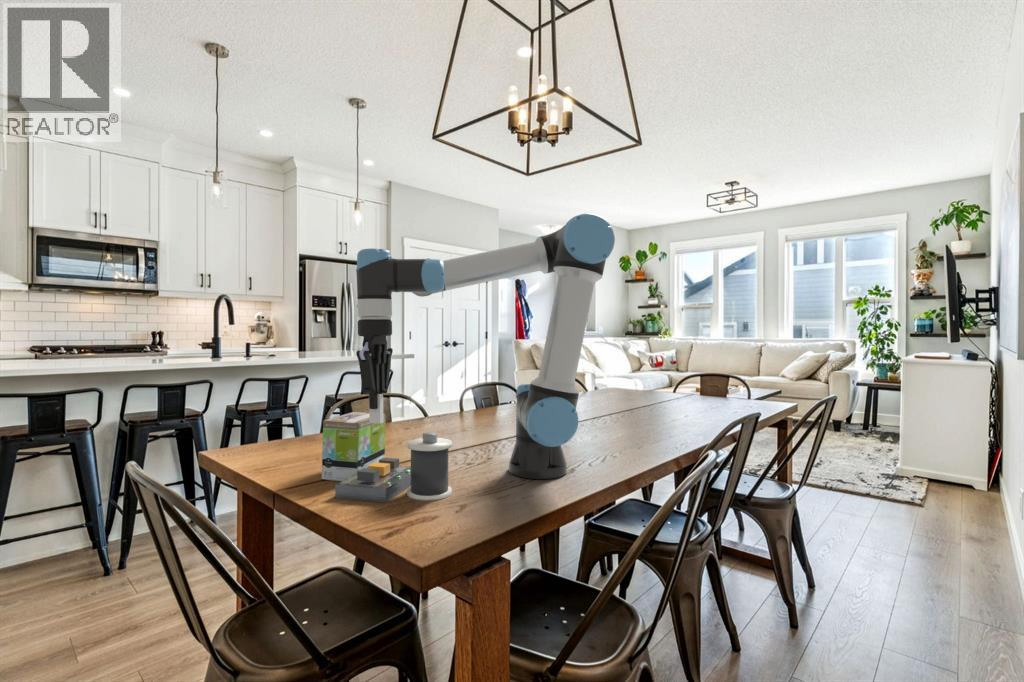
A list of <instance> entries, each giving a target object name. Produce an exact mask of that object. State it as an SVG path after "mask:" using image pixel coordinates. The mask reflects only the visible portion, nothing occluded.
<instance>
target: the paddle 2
mask: <svg viewBox="0 0 1024 682" xmlns="http://www.w3.org/2000/svg"><path fill="white" fill-rule="evenodd" d="M379 463H389V464H390V469H392V470H395V469H396V468H398V467H400V458H394V457H385V458H382V459H380V460H379Z"/></svg>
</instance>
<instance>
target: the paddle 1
mask: <svg viewBox="0 0 1024 682" xmlns="http://www.w3.org/2000/svg"><path fill="white" fill-rule="evenodd" d="M378 479H379V470H378V469H365V468H363V469H361V470H359V471H357V480H358V481H369V482H374V481H376V480H378Z"/></svg>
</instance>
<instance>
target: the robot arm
mask: <svg viewBox="0 0 1024 682" xmlns="http://www.w3.org/2000/svg"><path fill="white" fill-rule="evenodd" d="M614 232H615V231H614V229H613V227H612V226H611V225H610V223H609V221H608V220H606V219H605V218H604V217H603V216H601V215H599V214H596V213H589V212H587V213H581V214H577V215H574V216H573V217H571V218H570V219H569V220H568V221H567V222H566V223H565V225H564V226H562V227H561V228H560V229H558V230H556V231H553V232H552V233H549V234H545V235H541V236H537V238H536V239H535V240H534V241H532V242H528V243H522V244H519V245H518V244H517V245H514V246H513V245H512V246H508V247H503V248H500V249H499V248H498V249H495V250H487V251H484V252H479V253H474V254H471V255H465V256H459V257H454V258H451V259H445V260H442V259H437V258H436V259H435V258H434V259H433V258H403V259H401V258H395V257H394V258H393V257H392V254H391V251H390V250H388V249H386V248H364V249H360V250H358V252H357V254H356V257H357V258H356V268H355V272H356V273H355V274H356V294H357V297H356V299H357V304H356V308H357V316H358V317H357V318H360V319H358V321H357V335H358V336H359V337H363V339H362V340H363V341H362V348H361V350H356V352H355V353H356V354H355V355H356V358H357V360H358V364H359V370H360V371H359V372H360V373H359V374H360V379H361V385H362V386H361V388H362V392H363V394H364V395H367V396H368V404H369V405H368V407H369V408H368V409H369V410H368V413H369V423H379V424H381V423H383V422H384V421H383V414H384V394H388V389H389V383H390V382H389V381H390V371H391V370H390V369H391V359H392V355H393V351H394V350H393V348H392V347H388V340H387V337H390V336H392V335H393V321H392V320H391V319H390V318H392V317H393V302H392V301H393V299H392V293H412V294H413V295H416V296H418V297H422V298H423V297H428V296H431V295H433V294H438V293H442V292H446V291H451V290H455V289H460V288H464V287H465V288H466V287H468V286H469V287H471V286H474V285H478V284H479V285H480V284H483V283H489V282H494V281H498V280H503V279H507V278H512V277H517V276H521V275H527V274H531V273H535V272H542V274H544V275H547V274H549V273H550V274H551V273H555V274H556V275H557V277H558V278H557V281H556V282H557V283H556V288H555V292H554V298H553V303H552V308H551V311H550V317H549V322H548V325H547V326H548V328H547V330H546V331H547V332H546V338H545V342H544V345H543V347H544V348H543V351H542V356H541V362H540V367H539V372H538V376H537V377H535V378H534V379H533V380H531V381H530V384H529V383H526V384H524V383H522V384H519V385H517V387H516V394H515V399H516V405H515V406H516V408H515V409H516V413H515V415H516V418H515V419H516V420H515V423H516V424H515V443H514V447H513V448H512V449H513V450H512V453H511V455H510V458H509V462H508V472H509V473H510V474H511V475H513V476H514V477H515V476H516V477H519V478H524V479H531V480H550V479H556V478H560V477H563V476H565V475H566V474H567V461H566V460H567V459H566V458H565V454H564V450H563V447H562V446H563V445H565V444H567V443H568V442H569V441H570V440H572V438H573V437H574V436H575V434H576V433H577V431H578V427H579V422H580V421H579V414H578V411H577V406H578V405H577V404H578V399H579V395H580V391H579V389H578V388H577V386H576V382H575V381H576V377H577V371H578V368H579V362H580V356H581V352H582V347H583V341H584V336H585V332H586V328H587V327H586V326H587V322H588V318H589V317H588V316H589V311H590V307H591V301H592V297H593V292H594V288H595V287H594V286H595V284H596V283H597V282H599V281H600V280H601V279H603V275H604V272H605V266H606V260H607V259H608V258H609V257H610V255H611V253H612V252H613V249H614V247H615V242H616V241H615V240H616V239H615V233H614Z"/></svg>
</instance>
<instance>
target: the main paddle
mask: <svg viewBox="0 0 1024 682" xmlns="http://www.w3.org/2000/svg"><path fill="white" fill-rule="evenodd" d="M368 469H378V470H379V476H384V475H386V474H388V473H390V464H389V463H376V462H374V463H373V464H371V465H369V466H368Z"/></svg>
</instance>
